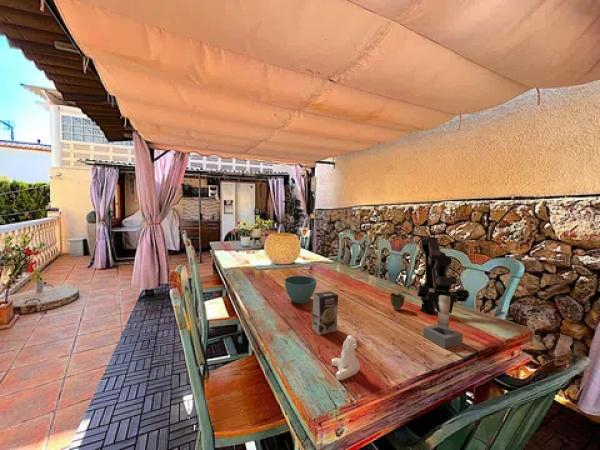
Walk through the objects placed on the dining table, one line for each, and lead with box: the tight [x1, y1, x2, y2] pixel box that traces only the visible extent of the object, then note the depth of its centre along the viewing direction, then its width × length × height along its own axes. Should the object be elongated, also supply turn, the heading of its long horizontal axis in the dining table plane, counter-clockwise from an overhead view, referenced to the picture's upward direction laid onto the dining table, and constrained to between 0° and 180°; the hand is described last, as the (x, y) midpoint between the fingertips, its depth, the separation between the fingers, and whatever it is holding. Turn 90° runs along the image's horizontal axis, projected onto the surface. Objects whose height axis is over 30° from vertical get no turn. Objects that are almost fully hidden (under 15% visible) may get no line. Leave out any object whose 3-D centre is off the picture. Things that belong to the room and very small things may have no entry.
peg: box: [436, 295, 450, 329], centre depth 106 cm, size 4×4×12 cm
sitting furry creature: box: [331, 334, 361, 381], centre depth 84 cm, size 10×9×12 cm
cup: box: [389, 292, 406, 311], centre depth 138 cm, size 8×7×8 cm
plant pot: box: [284, 275, 317, 304], centre depth 148 cm, size 18×18×12 cm
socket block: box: [422, 324, 464, 349], centre depth 106 cm, size 10×10×4 cm
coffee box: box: [311, 291, 339, 336], centre depth 112 cm, size 9×6×16 cm
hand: (444, 312), depth 104 cm, fingers closed on peg, 4 cm apart
